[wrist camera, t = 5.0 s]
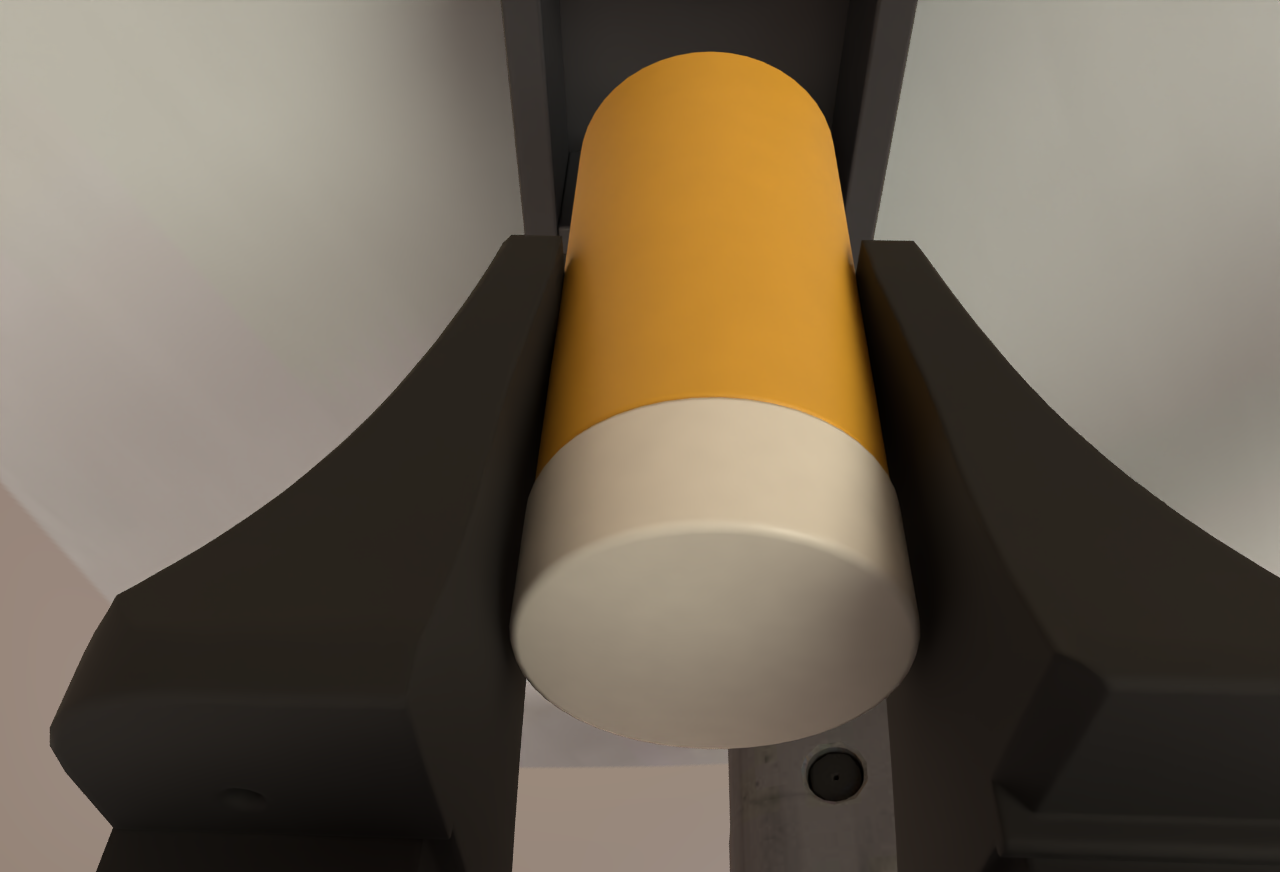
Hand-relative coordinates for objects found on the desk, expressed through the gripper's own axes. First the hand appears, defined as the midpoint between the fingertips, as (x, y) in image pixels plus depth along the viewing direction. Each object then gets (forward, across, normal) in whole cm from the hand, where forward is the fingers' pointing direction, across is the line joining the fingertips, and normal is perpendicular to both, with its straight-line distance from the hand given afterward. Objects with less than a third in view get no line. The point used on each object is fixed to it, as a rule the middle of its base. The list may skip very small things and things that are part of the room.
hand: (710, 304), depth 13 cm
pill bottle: (+3, 0, 0) cm, 3 cm away
